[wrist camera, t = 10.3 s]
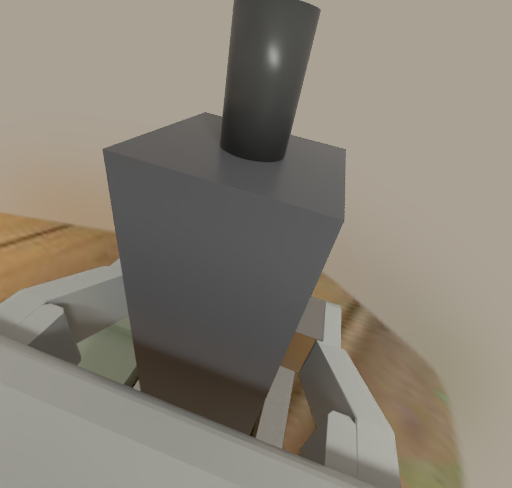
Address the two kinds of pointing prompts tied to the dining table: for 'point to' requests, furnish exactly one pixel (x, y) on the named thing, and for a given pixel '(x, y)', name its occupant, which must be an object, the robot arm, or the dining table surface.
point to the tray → (111, 353)
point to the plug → (228, 225)
